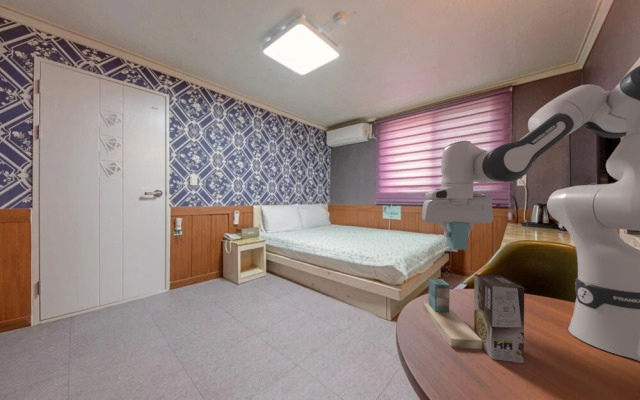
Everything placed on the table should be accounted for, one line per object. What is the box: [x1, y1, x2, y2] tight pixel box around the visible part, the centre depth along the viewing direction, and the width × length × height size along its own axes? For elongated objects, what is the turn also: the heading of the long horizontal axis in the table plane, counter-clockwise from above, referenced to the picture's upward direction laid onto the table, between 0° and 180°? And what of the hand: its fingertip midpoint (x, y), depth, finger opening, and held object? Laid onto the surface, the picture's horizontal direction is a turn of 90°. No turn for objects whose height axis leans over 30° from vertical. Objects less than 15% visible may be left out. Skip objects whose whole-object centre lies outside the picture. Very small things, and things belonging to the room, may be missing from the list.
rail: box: [422, 278, 483, 350], centre depth 64 cm, size 7×19×10 cm, turn 175°
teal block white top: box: [446, 223, 469, 251], centre depth 74 cm, size 4×6×8 cm
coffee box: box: [473, 273, 526, 364], centre depth 55 cm, size 9×6×16 cm
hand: (456, 237), depth 74 cm, fingers closed on teal block white top, 4 cm apart
